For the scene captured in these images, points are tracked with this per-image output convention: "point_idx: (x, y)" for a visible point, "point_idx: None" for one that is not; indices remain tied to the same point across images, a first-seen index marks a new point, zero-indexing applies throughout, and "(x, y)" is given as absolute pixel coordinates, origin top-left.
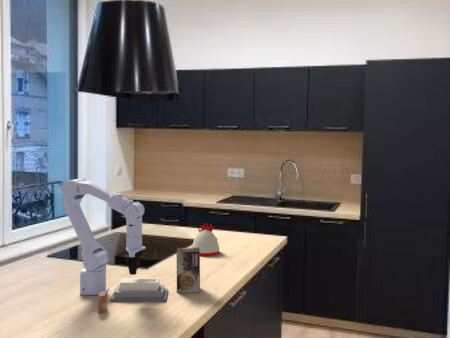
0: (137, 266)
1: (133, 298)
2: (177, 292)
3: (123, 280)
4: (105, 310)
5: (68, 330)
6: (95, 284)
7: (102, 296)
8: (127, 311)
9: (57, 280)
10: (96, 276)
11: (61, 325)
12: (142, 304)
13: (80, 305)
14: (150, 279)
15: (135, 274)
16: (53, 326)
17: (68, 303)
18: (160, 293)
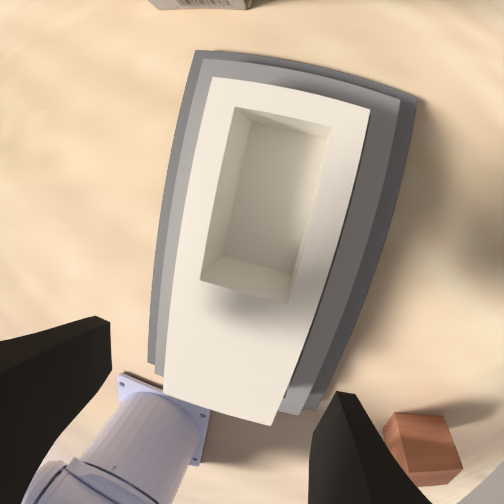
0: (94, 342)
1: (355, 304)
2: (250, 5)
3: (221, 400)
4: (423, 416)
5: (491, 464)
6: (186, 464)
7: (458, 471)
8: (477, 336)
9: (68, 449)
10: (174, 492)
11: (453, 483)
12: (424, 252)
13: None
14: (221, 170)
15: (355, 396)
16: (447, 492)
17: (281, 491)
18: (393, 117)
